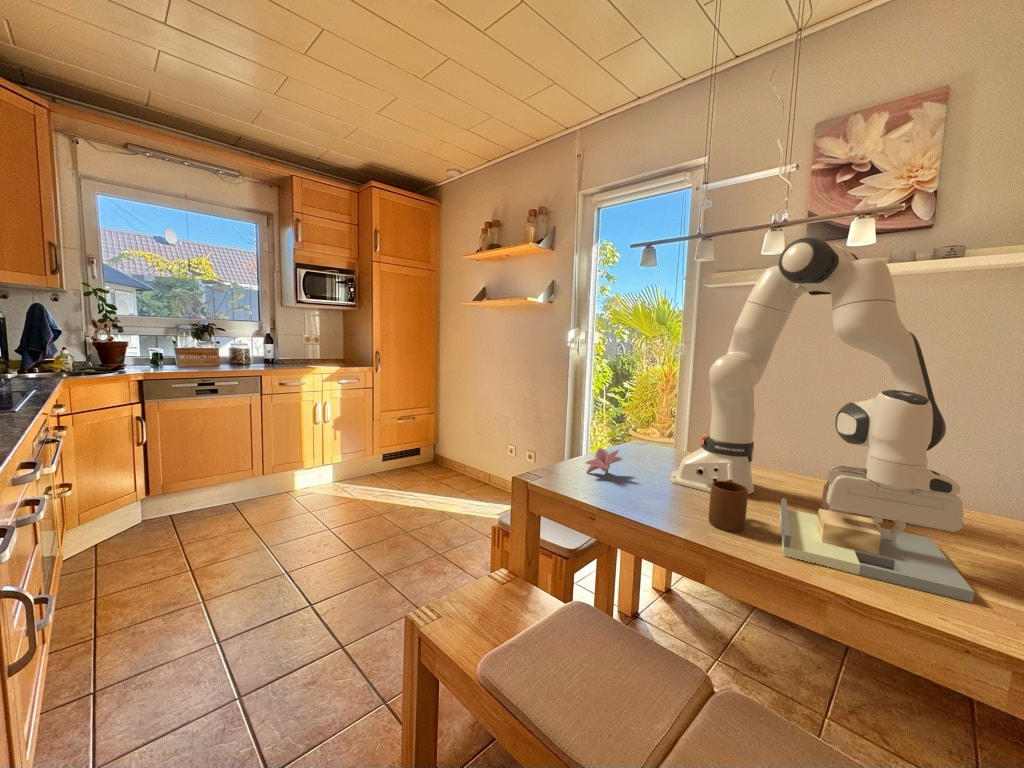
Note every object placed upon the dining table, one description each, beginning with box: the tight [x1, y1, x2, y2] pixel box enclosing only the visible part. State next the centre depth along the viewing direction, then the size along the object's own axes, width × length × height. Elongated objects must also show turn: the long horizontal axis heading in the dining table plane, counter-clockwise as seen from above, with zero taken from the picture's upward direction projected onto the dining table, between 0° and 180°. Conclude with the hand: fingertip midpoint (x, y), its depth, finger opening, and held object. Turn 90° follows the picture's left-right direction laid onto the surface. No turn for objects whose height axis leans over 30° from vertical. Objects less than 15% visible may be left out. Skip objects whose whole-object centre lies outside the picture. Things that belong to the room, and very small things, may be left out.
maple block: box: [817, 508, 881, 555], centre depth 88 cm, size 9×9×4 cm
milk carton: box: [821, 480, 851, 515], centre depth 106 cm, size 4×7×10 cm, turn 161°
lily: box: [584, 447, 624, 482], centre depth 129 cm, size 12×12×10 cm
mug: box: [708, 479, 749, 532], centre depth 99 cm, size 12×8×9 cm, turn 152°
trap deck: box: [779, 498, 975, 603], centre depth 87 cm, size 27×23×4 cm
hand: (885, 539), depth 85 cm, fingers closed
